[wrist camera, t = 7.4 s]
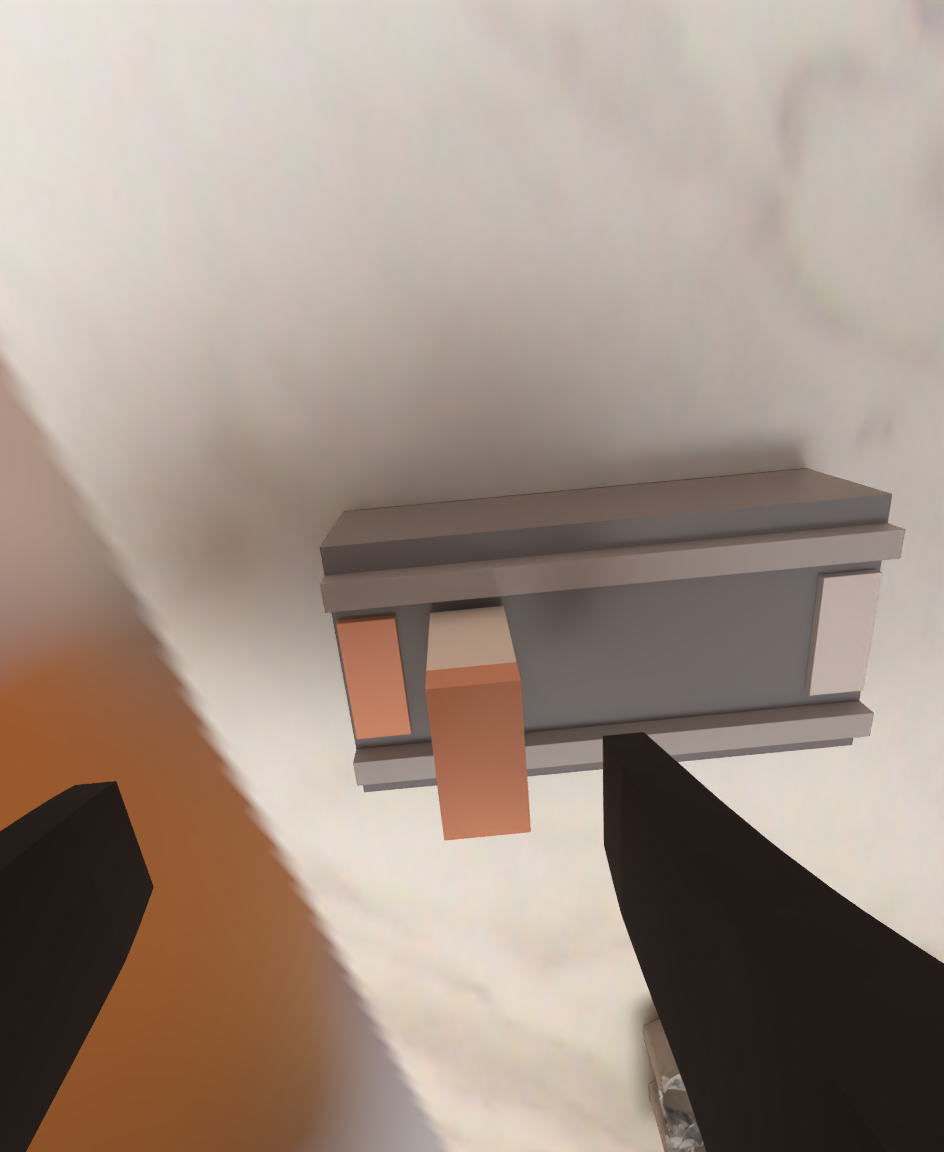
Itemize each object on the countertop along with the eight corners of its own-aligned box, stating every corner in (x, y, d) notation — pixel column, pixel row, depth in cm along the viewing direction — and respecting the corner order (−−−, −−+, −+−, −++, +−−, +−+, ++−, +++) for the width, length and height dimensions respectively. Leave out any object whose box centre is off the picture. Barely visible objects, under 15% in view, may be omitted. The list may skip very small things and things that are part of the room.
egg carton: (931, 947, 21) (1039, 1077, 17) (902, 1083, 24) (990, 1221, 20) (635, 983, 21) (678, 1122, 17) (637, 1115, 24) (675, 1261, 20)
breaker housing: (806, 468, 15) (910, 499, 11) (783, 680, 17) (865, 758, 14) (343, 511, 15) (314, 555, 11) (378, 719, 17) (361, 807, 13)
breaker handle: (503, 606, 12) (521, 680, 9) (512, 730, 13) (530, 831, 10) (430, 612, 12) (425, 689, 9) (444, 737, 13) (444, 840, 10)
